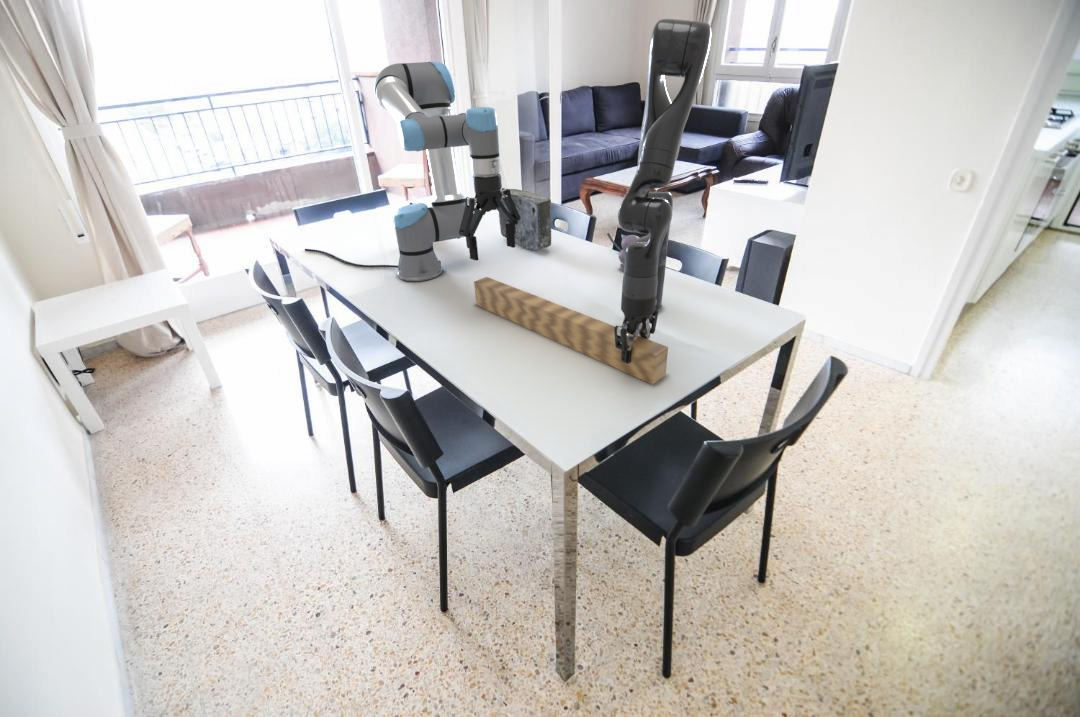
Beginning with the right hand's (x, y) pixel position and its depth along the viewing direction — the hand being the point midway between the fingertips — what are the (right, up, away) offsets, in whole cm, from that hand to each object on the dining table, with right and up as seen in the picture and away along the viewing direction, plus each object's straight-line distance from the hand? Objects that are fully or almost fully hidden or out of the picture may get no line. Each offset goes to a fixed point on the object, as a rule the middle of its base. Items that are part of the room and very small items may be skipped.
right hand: (634, 356), depth 117 cm
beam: (-17, +6, +17) cm, 25 cm away
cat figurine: (+9, +31, +56) cm, 64 cm away
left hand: (-35, +29, +23) cm, 52 cm away
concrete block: (-27, +44, +80) cm, 95 cm away
